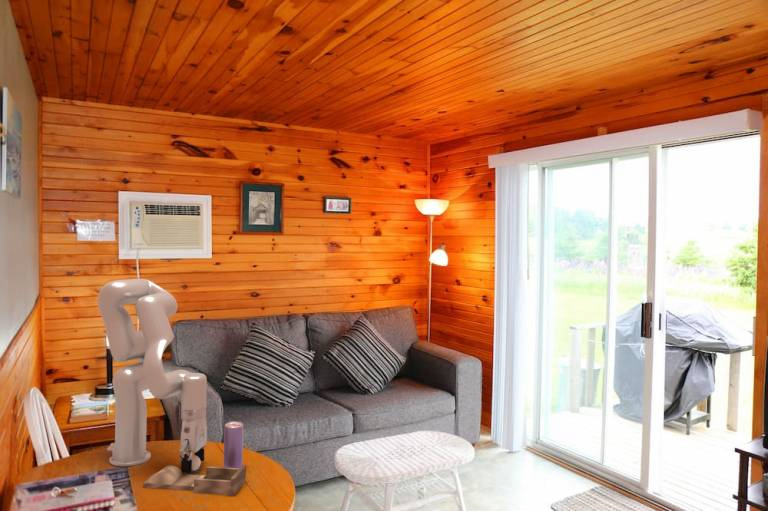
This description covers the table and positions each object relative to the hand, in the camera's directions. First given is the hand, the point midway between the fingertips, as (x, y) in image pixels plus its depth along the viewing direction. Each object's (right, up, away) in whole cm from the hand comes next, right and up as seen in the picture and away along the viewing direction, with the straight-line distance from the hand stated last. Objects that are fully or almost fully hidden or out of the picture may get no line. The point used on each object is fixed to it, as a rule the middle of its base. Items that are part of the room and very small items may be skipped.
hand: (192, 466), depth 181 cm
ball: (0, -2, 0) cm, 2 cm away
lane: (+4, -6, -10) cm, 12 cm away
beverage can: (+12, -2, +2) cm, 13 cm away
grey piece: (0, -2, 0) cm, 2 cm away
